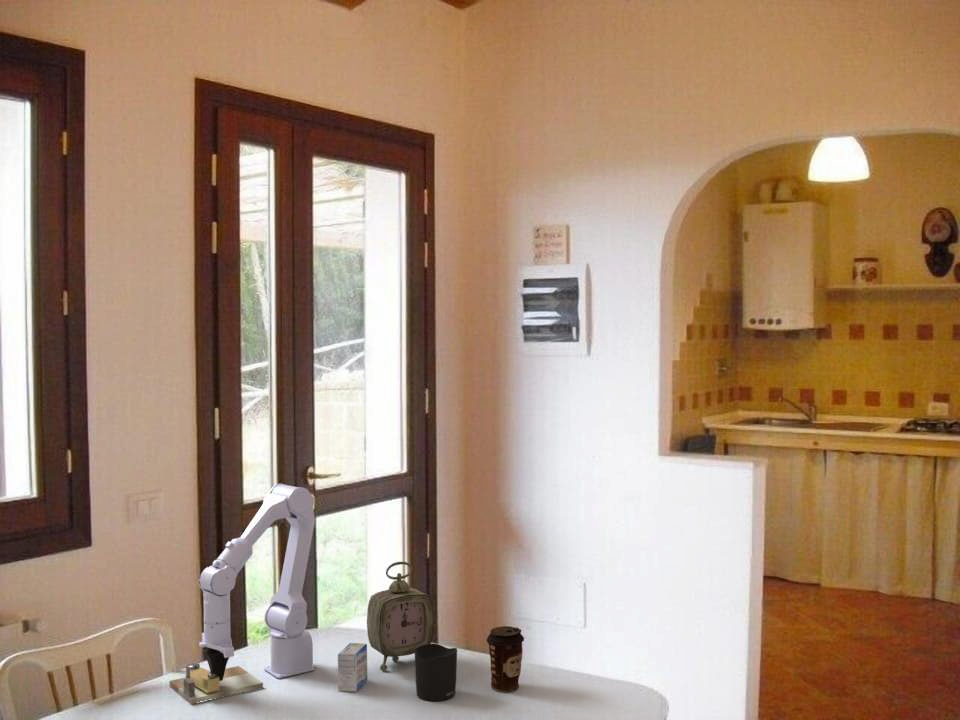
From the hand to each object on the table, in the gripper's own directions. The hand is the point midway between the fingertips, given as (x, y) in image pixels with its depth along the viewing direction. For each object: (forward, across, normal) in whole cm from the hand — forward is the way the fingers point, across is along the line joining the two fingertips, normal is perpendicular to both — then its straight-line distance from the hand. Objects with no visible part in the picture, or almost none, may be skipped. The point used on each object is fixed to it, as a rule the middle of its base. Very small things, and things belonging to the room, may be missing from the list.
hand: (217, 680), depth 213 cm
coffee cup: (+3, +37, +53) cm, 65 cm away
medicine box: (+3, +15, +26) cm, 30 cm away
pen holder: (+3, +31, +38) cm, 49 cm away
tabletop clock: (+3, +9, +42) cm, 43 cm away
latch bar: (0, -1, -3) cm, 4 cm away
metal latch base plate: (+2, -3, +1) cm, 4 cm away
